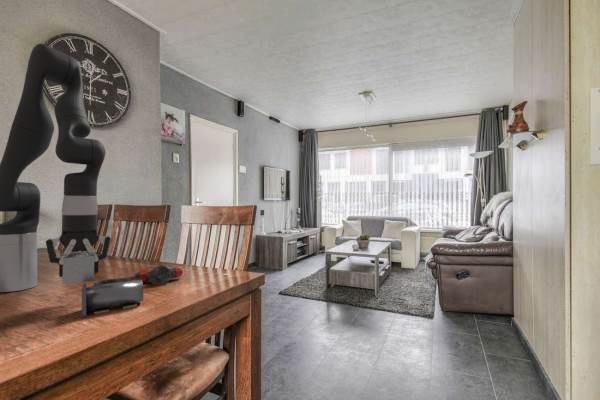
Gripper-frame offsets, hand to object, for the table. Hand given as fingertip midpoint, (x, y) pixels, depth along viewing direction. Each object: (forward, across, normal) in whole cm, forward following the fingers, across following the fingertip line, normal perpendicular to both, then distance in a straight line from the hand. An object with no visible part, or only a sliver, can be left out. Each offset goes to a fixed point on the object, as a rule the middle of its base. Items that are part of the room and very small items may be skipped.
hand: (79, 276), depth 78 cm
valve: (+8, -17, -15) cm, 24 cm away
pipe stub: (+7, -8, +9) cm, 14 cm away
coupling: (+1, 0, 0) cm, 1 cm away
